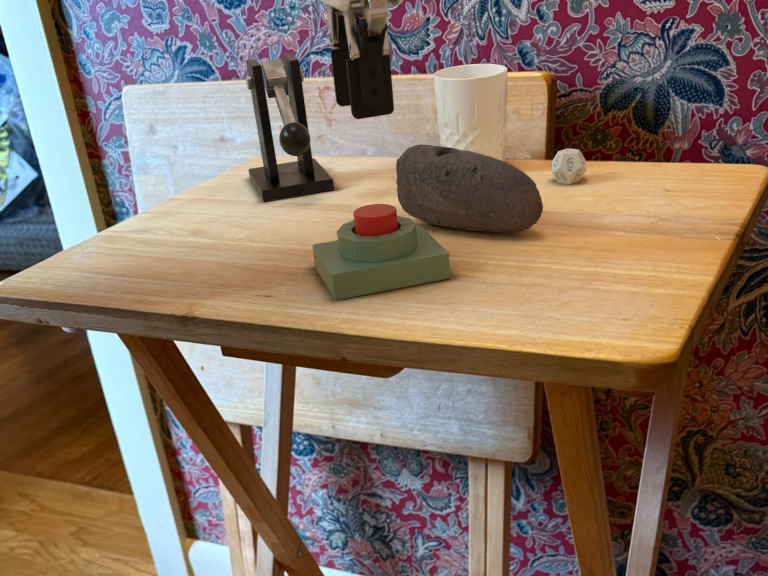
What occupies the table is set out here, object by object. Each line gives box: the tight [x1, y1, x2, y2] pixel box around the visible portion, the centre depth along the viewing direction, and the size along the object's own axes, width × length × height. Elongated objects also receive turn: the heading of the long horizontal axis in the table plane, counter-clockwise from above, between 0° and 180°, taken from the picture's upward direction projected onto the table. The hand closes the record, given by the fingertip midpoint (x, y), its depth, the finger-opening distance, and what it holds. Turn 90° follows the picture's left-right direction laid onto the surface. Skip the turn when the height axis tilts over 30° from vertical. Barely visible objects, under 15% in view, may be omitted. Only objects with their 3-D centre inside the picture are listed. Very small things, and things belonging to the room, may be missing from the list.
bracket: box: [245, 53, 335, 203], centre depth 98 cm, size 10×8×13 cm
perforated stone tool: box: [395, 144, 544, 234], centre depth 82 cm, size 15×5×7 cm, turn 51°
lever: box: [260, 58, 311, 157], centre depth 93 cm, size 12×3×3 cm, turn 16°
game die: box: [550, 147, 587, 185], centre depth 93 cm, size 4×4×3 cm
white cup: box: [432, 63, 509, 162], centre depth 97 cm, size 8×8×10 cm
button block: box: [311, 214, 451, 301], centre depth 76 cm, size 10×8×4 cm
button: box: [352, 203, 398, 236], centre depth 74 cm, size 4×4×2 cm
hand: (364, 106), depth 69 cm, fingers open, 4 cm apart
